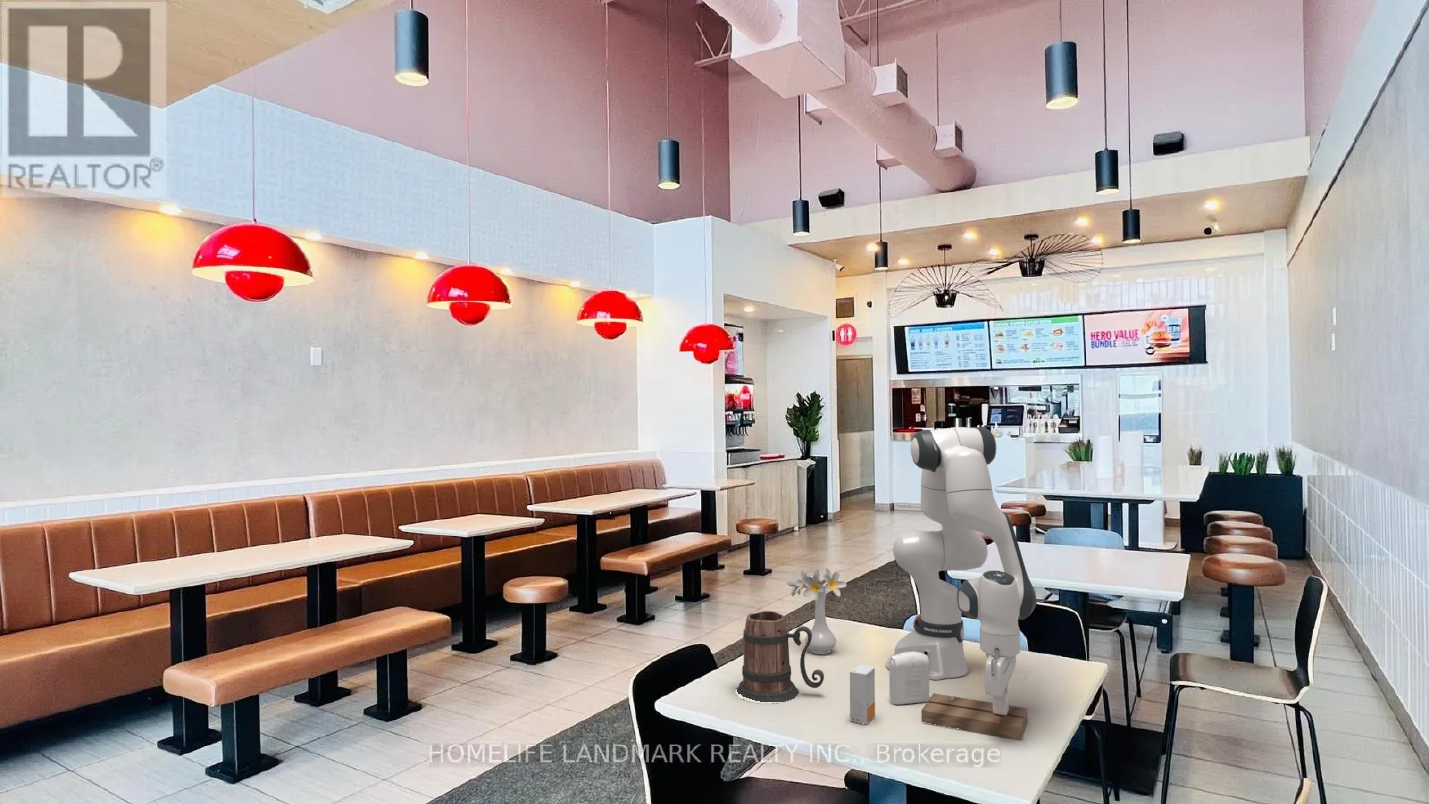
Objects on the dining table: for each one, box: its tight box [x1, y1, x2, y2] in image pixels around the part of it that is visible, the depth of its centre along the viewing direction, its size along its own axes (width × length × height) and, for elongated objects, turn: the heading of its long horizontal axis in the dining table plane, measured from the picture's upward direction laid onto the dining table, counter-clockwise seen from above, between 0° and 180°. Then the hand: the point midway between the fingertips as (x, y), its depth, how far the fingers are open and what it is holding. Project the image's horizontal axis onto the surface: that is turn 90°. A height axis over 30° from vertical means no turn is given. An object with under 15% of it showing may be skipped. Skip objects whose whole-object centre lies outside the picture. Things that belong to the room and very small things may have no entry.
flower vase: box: [786, 567, 847, 656], centre depth 241 cm, size 13×18×25 cm
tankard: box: [736, 610, 825, 703], centre depth 208 cm, size 24×17×20 cm
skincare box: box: [849, 664, 876, 725], centre depth 190 cm, size 6×4×12 cm
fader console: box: [920, 693, 1029, 741], centre depth 188 cm, size 22×12×3 cm, turn 61°
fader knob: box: [992, 689, 1010, 715], centre depth 185 cm, size 3×4×6 cm
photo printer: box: [888, 652, 930, 705], centre depth 201 cm, size 10×4×12 cm, turn 104°
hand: (1000, 702), depth 185 cm, fingers closed on fader knob, 3 cm apart
